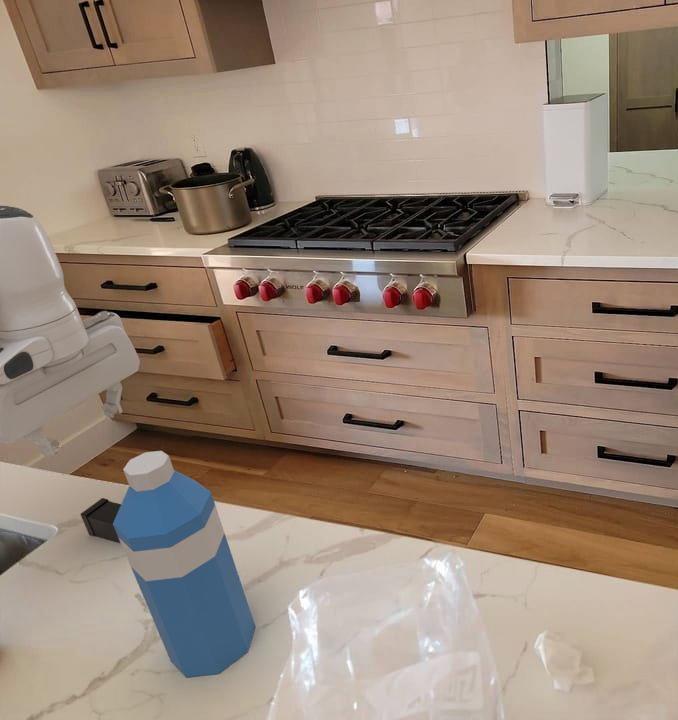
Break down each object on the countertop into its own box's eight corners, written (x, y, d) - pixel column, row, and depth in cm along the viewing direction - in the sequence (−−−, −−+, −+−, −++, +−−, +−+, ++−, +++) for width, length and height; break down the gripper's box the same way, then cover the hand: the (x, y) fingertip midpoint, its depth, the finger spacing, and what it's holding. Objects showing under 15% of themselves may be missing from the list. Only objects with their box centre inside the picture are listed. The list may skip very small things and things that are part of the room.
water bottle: (221, 687, 72) (148, 498, 61) (151, 668, 75) (70, 485, 64) (272, 619, 80) (216, 441, 68) (207, 604, 83) (144, 431, 72)
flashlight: (87, 535, 97) (77, 512, 95) (112, 517, 100) (102, 494, 98) (149, 553, 92) (139, 529, 90) (172, 533, 95) (163, 510, 94)
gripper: (98, 303, 92) (131, 392, 98) (-56, 373, 76) (-5, 474, 82) (131, 307, 90) (163, 397, 96) (-20, 379, 73) (29, 483, 80)
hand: (84, 433), depth 89 cm, fingers open, 8 cm apart
